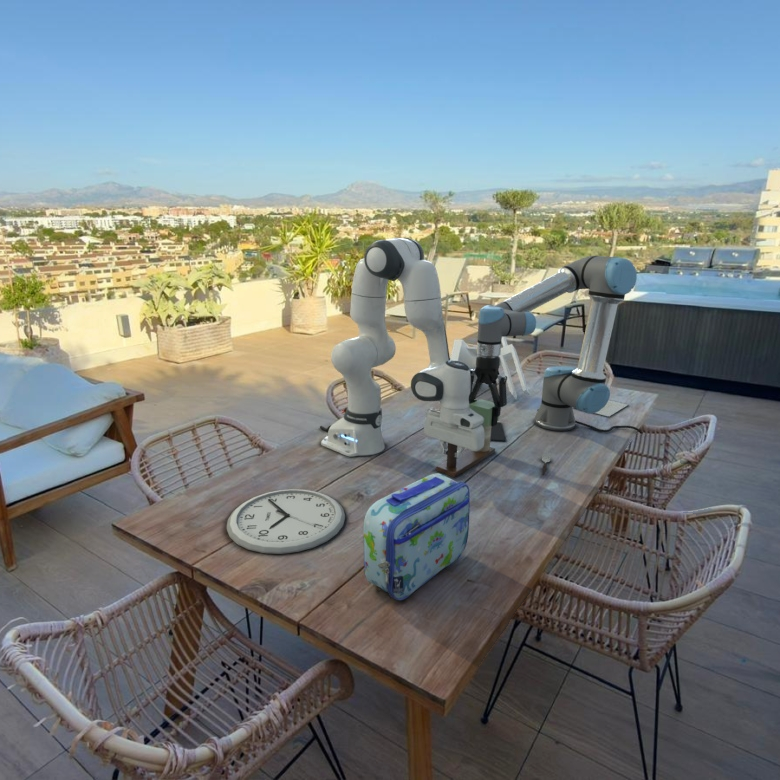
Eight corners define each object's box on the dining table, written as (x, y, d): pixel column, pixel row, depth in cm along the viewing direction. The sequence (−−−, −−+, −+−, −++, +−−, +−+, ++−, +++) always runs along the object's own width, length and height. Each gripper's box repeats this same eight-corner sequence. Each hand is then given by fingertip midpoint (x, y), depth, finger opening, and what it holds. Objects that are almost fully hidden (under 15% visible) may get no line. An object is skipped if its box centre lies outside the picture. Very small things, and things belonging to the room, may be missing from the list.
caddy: (494, 452, 178) (497, 420, 175) (454, 477, 160) (456, 442, 157) (477, 446, 183) (479, 416, 179) (435, 470, 164) (437, 436, 161)
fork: (538, 475, 162) (539, 470, 161) (542, 455, 176) (543, 450, 175) (547, 477, 161) (547, 471, 160) (550, 457, 175) (551, 451, 174)
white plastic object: (461, 429, 252) (437, 405, 227) (444, 352, 274) (420, 323, 250) (535, 404, 240) (518, 377, 215) (510, 326, 262) (492, 293, 237)
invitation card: (608, 416, 214) (573, 407, 224) (608, 416, 214) (573, 408, 224) (628, 404, 229) (594, 396, 238) (628, 405, 229) (594, 397, 238)
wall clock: (345, 545, 122) (213, 550, 119) (345, 551, 122) (214, 556, 120) (344, 484, 150) (238, 487, 148) (345, 490, 151) (239, 492, 148)
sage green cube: (498, 420, 175) (500, 403, 173) (487, 426, 170) (488, 409, 168) (479, 415, 180) (480, 399, 178) (468, 421, 174) (469, 404, 172)
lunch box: (392, 613, 103) (394, 520, 97) (356, 587, 110) (356, 498, 104) (472, 558, 121) (478, 476, 114) (437, 539, 128) (441, 461, 122)
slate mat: (500, 423, 205) (500, 422, 204) (504, 441, 188) (505, 440, 187) (454, 421, 207) (454, 419, 206) (454, 438, 190) (454, 437, 189)
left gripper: (420, 408, 163) (419, 449, 167) (477, 424, 150) (474, 468, 155) (432, 404, 167) (430, 443, 172) (488, 419, 155) (485, 461, 159)
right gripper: (455, 352, 171) (451, 417, 178) (511, 363, 159) (505, 432, 166) (467, 348, 177) (463, 412, 184) (522, 358, 165) (516, 426, 171)
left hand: (451, 455), depth 163 cm, fingers closed on caddy, 3 cm apart
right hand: (483, 422), depth 175 cm, fingers closed on sage green cube, 7 cm apart
